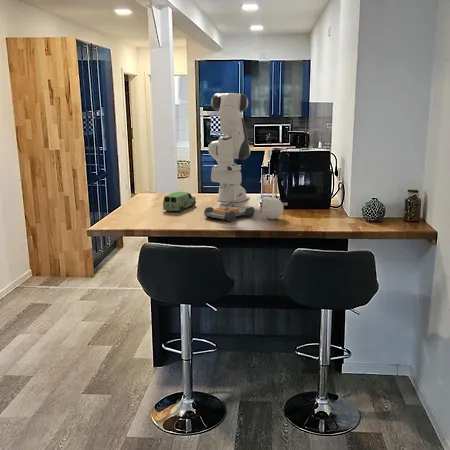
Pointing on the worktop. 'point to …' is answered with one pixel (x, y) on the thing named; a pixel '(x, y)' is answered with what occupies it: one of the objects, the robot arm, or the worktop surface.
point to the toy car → (178, 201)
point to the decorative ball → (272, 208)
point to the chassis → (229, 213)
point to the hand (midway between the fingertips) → (225, 191)
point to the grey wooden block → (225, 206)
